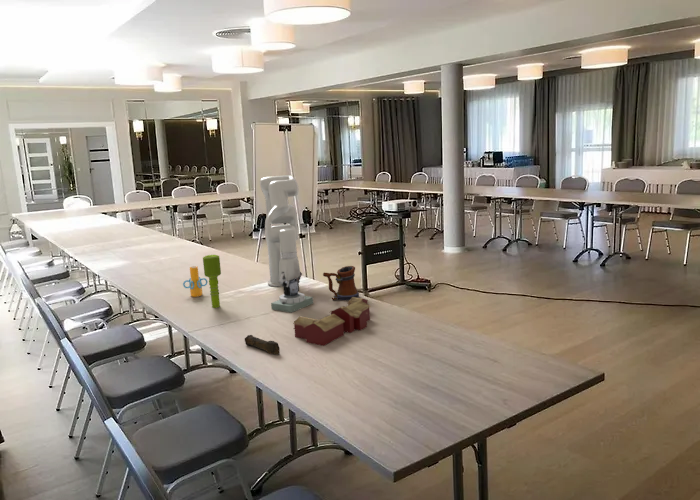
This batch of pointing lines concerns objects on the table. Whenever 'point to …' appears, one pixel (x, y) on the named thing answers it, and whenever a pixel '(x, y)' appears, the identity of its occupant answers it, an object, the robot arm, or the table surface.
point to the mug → (343, 283)
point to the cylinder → (195, 282)
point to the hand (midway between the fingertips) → (291, 292)
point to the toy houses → (334, 323)
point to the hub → (293, 287)
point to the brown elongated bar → (263, 344)
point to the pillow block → (291, 302)
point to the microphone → (213, 276)
